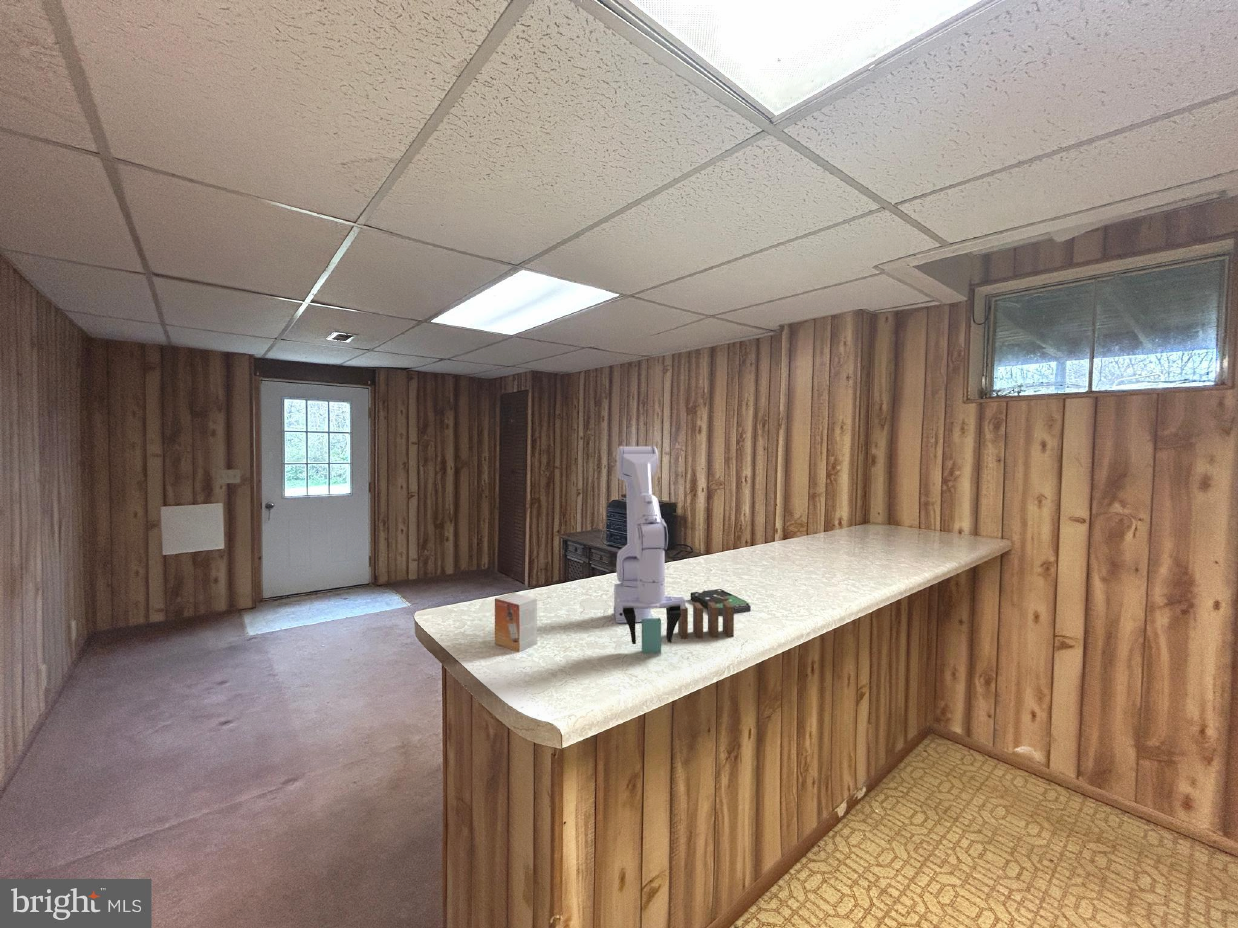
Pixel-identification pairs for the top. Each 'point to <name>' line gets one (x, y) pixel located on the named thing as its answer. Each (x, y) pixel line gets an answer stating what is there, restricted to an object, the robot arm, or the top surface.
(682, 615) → the domino
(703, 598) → the disk drive
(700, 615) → the domino
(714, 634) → the domino
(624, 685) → the top surface
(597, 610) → the top surface
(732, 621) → the domino
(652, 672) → the top surface
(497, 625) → the small box
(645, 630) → the teal domino
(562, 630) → the top surface
